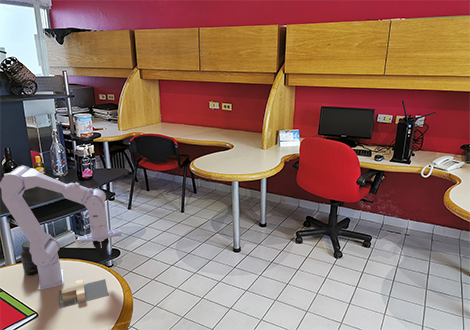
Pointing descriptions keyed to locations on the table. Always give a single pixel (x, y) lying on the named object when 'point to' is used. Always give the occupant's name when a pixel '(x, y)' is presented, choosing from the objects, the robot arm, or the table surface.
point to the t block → (74, 291)
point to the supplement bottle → (28, 260)
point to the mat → (87, 293)
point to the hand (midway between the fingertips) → (102, 256)
